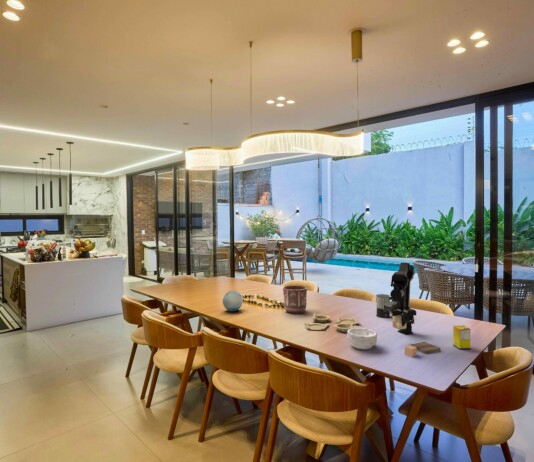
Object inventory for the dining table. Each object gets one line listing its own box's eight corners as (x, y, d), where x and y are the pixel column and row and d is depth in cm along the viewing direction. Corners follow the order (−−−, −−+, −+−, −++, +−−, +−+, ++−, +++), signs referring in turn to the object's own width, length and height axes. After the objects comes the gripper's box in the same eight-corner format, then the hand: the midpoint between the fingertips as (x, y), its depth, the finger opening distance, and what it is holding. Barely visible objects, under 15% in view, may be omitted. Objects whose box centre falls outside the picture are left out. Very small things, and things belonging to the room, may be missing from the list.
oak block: (392, 326, 187) (392, 316, 187) (399, 325, 189) (399, 315, 189) (399, 329, 183) (399, 318, 183) (406, 328, 185) (406, 317, 184)
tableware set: (360, 321, 229) (360, 315, 229) (360, 335, 200) (360, 328, 200) (308, 317, 238) (308, 311, 238) (301, 330, 210) (301, 324, 210)
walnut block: (410, 348, 180) (410, 344, 180) (424, 345, 184) (424, 341, 184) (425, 354, 171) (425, 350, 171) (440, 351, 175) (440, 348, 175)
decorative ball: (245, 308, 262) (244, 289, 261) (240, 314, 247) (239, 293, 246) (226, 308, 264) (226, 288, 264) (220, 313, 249) (220, 292, 249)
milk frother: (382, 318, 232) (382, 297, 232) (366, 313, 247) (366, 292, 246) (398, 316, 238) (398, 295, 238) (382, 310, 253) (382, 291, 252)
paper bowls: (381, 345, 182) (381, 331, 182) (368, 354, 171) (368, 338, 171) (355, 339, 193) (355, 325, 192) (341, 347, 181) (341, 332, 181)
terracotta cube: (404, 354, 170) (404, 346, 170) (409, 352, 173) (409, 345, 173) (412, 357, 167) (412, 349, 167) (416, 355, 169) (416, 347, 169)
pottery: (301, 307, 264) (300, 284, 263) (311, 313, 247) (310, 288, 247) (279, 309, 258) (279, 286, 258) (288, 315, 242) (288, 290, 241)
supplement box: (463, 345, 182) (463, 325, 182) (470, 349, 176) (470, 328, 176) (452, 345, 182) (452, 325, 182) (459, 349, 176) (459, 328, 176)
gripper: (376, 294, 191) (376, 321, 192) (400, 301, 174) (400, 331, 174) (391, 292, 195) (391, 319, 196) (417, 299, 178) (417, 329, 179)
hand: (399, 324), depth 186 cm, fingers closed on oak block, 5 cm apart
